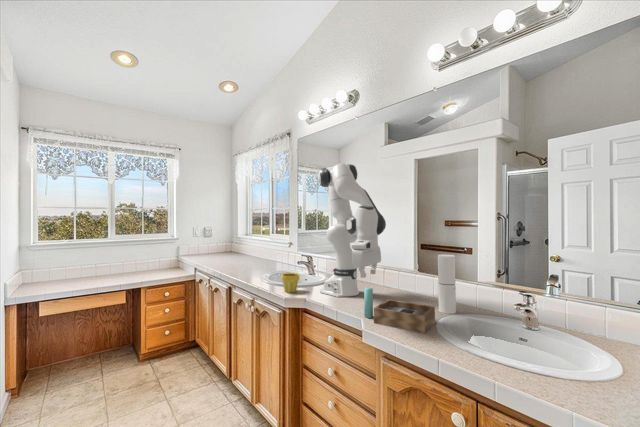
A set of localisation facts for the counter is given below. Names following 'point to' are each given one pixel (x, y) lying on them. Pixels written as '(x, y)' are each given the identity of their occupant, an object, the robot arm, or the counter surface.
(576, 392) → the counter surface
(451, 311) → the cylindrical container
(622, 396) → the counter surface
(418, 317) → the box
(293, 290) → the plant pot
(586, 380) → the counter surface
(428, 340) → the counter surface
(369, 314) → the peg
